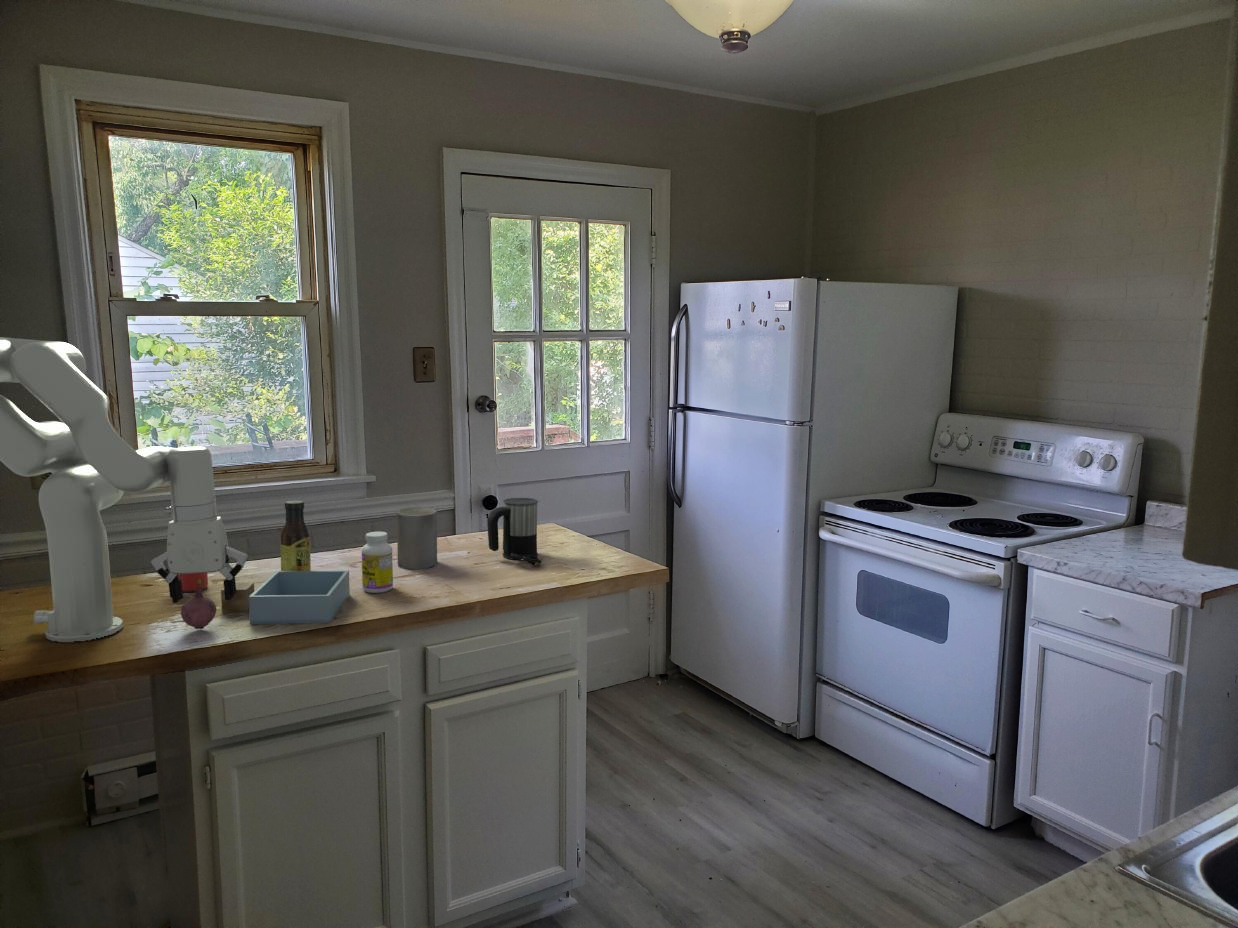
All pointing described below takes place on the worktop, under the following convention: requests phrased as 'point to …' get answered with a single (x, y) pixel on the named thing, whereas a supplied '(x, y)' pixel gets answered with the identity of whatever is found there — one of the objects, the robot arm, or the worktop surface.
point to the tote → (299, 597)
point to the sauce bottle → (295, 539)
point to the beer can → (193, 581)
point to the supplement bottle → (377, 563)
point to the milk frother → (516, 529)
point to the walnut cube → (238, 599)
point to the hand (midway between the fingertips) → (204, 599)
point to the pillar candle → (416, 537)
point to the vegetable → (198, 609)
